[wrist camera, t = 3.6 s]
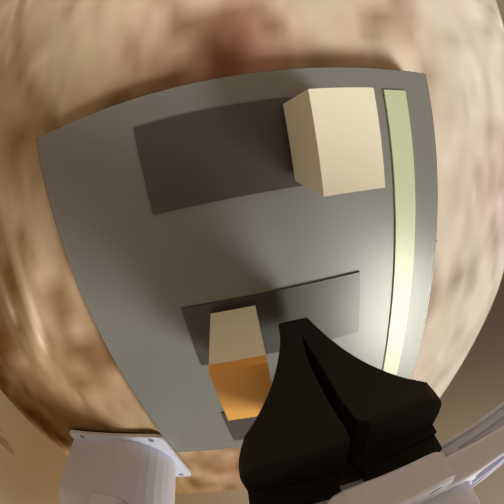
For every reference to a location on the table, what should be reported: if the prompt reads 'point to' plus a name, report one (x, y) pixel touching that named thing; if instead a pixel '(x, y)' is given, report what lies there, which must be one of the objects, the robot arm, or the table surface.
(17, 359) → the table surface
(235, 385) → the handle
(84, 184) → the breaker panel
